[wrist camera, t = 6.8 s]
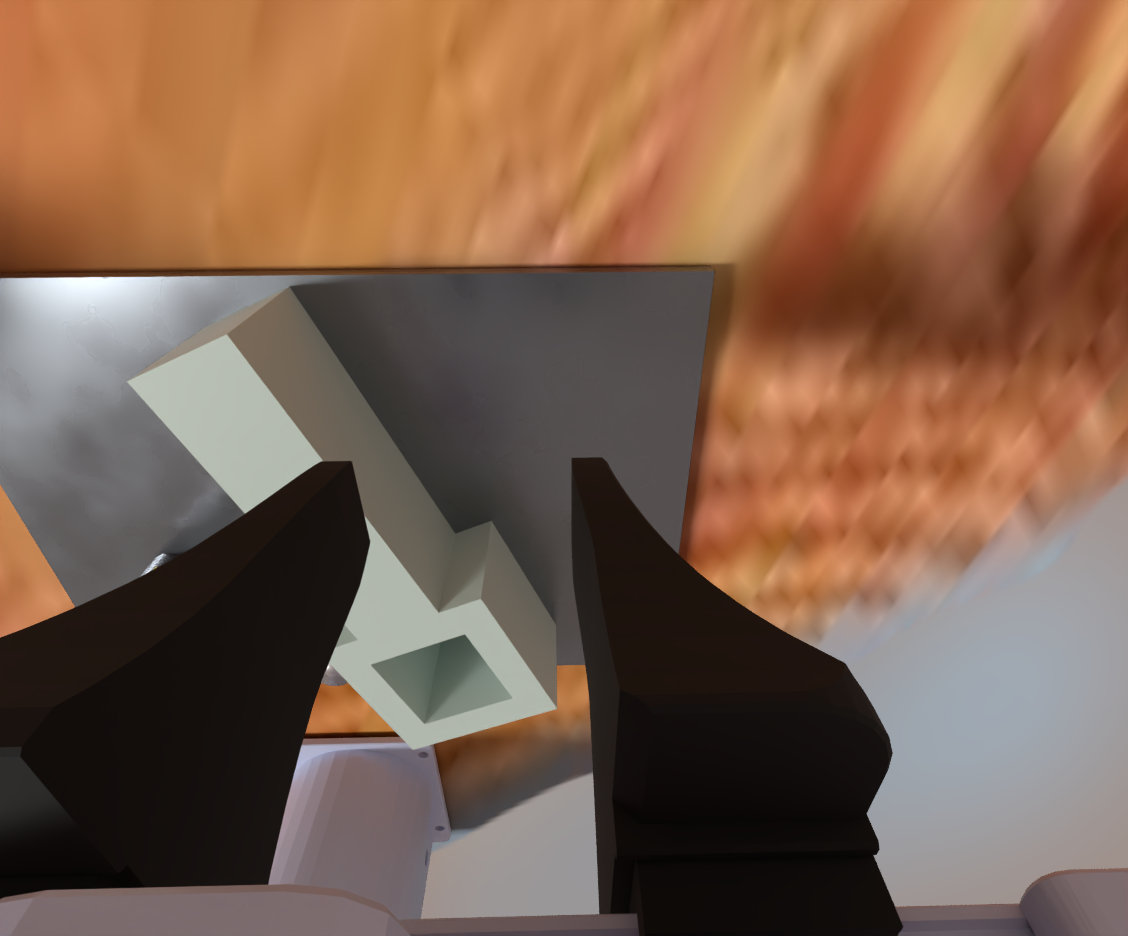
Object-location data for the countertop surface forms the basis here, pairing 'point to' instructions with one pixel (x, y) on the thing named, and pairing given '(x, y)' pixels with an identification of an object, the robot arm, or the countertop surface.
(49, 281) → the base plate
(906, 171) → the countertop surface
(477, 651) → the link
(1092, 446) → the countertop surface
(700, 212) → the countertop surface
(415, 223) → the countertop surface
